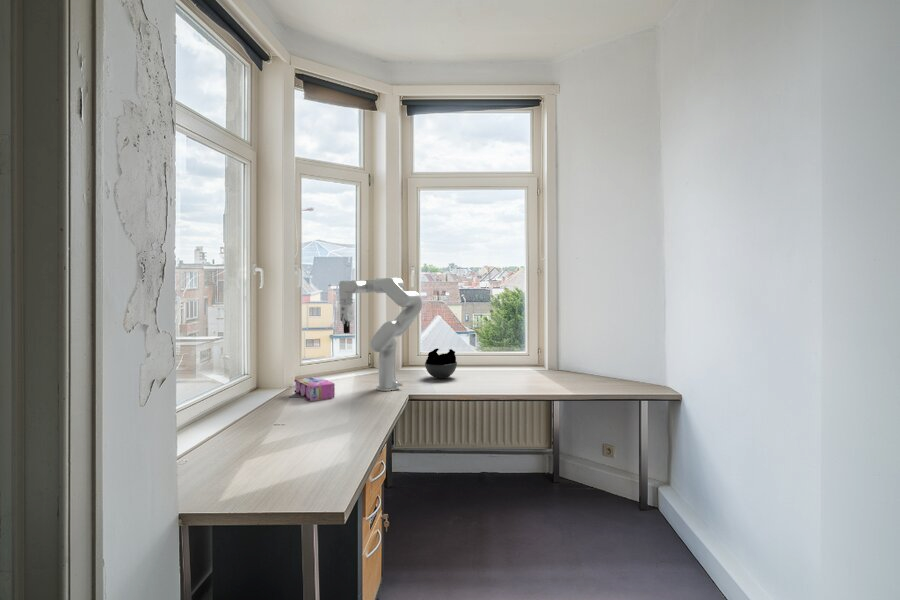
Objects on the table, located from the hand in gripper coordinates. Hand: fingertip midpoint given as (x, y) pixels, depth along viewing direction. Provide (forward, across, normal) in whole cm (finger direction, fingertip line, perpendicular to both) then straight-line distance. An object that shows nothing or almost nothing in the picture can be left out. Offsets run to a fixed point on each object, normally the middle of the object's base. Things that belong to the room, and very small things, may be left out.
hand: (346, 332), depth 295 cm
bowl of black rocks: (+31, +26, -51) cm, 65 cm away
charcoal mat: (+31, -20, +13) cm, 39 cm away
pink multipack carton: (+27, -23, +3) cm, 36 cm away
